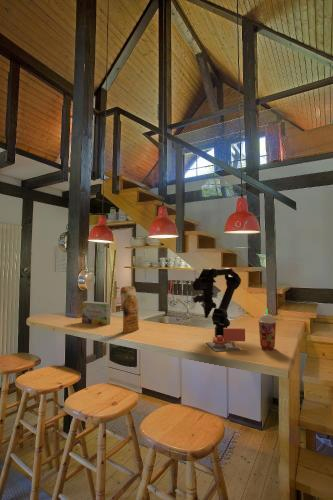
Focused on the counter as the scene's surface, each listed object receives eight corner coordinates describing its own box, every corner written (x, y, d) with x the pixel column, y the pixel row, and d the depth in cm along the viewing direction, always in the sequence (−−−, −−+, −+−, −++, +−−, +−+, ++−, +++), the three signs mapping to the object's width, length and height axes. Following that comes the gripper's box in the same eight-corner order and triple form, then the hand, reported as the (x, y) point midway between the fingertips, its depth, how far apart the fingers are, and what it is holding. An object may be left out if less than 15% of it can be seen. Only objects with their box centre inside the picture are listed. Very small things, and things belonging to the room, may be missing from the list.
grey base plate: (229, 342, 149) (229, 337, 149) (240, 350, 135) (240, 345, 135) (206, 343, 147) (206, 338, 147) (215, 351, 133) (215, 346, 133)
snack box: (81, 323, 197) (81, 301, 197) (86, 321, 202) (86, 300, 203) (106, 325, 188) (106, 303, 189) (110, 324, 194) (111, 302, 194)
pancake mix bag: (116, 333, 168) (116, 287, 169) (134, 327, 184) (134, 285, 186) (125, 334, 165) (125, 287, 166) (142, 328, 181) (142, 285, 183)
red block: (213, 344, 138) (213, 329, 138) (212, 340, 145) (212, 326, 145) (246, 345, 136) (245, 330, 136) (243, 341, 143) (243, 327, 143)
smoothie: (272, 345, 143) (271, 307, 144) (279, 350, 135) (278, 309, 136) (256, 345, 143) (255, 307, 144) (262, 351, 134) (261, 309, 135)
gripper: (191, 287, 165) (189, 313, 165) (197, 291, 147) (194, 320, 146) (209, 288, 166) (207, 314, 165) (217, 292, 147) (215, 322, 147)
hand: (206, 317), depth 156 cm, fingers closed
